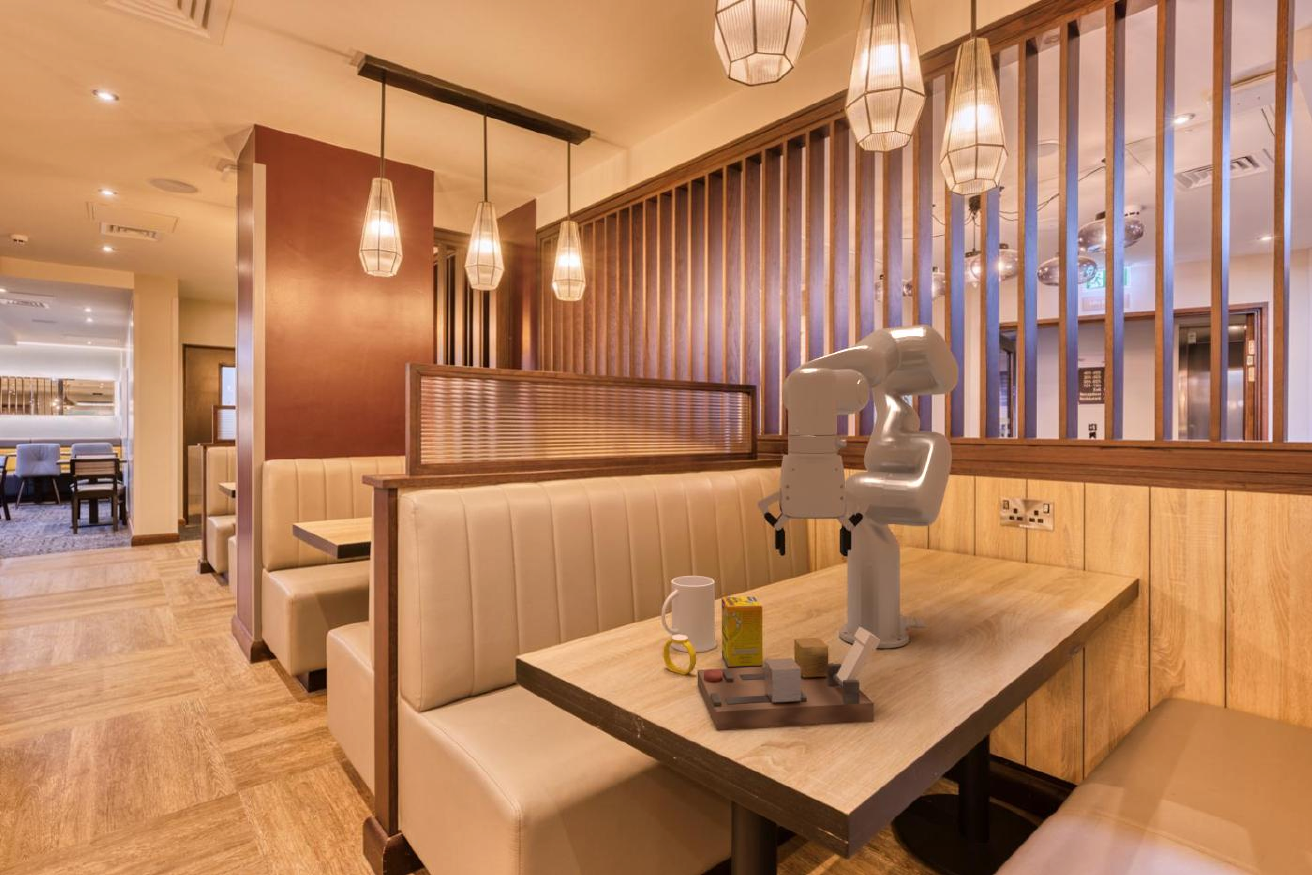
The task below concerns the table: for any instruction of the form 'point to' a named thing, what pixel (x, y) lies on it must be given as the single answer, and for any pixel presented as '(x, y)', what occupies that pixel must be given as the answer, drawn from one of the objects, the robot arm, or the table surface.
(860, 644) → the pale pink t-block
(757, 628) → the supplement box
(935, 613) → the table surface
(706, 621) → the mug
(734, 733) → the table surface
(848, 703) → the console
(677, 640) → the watch
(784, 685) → the grey knob
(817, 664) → the brass knob
